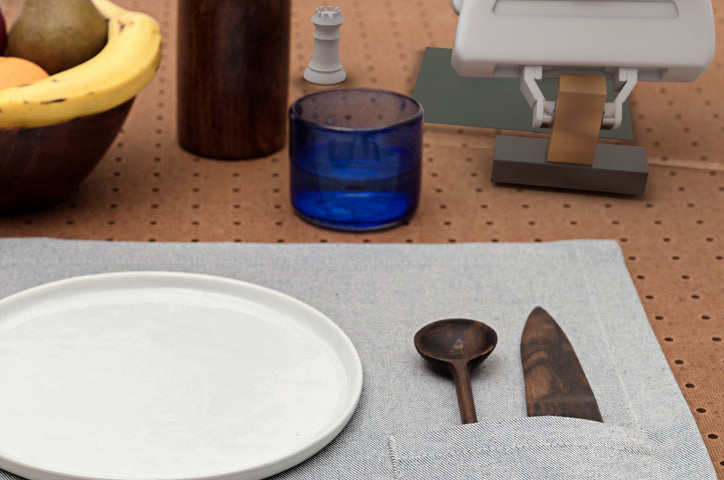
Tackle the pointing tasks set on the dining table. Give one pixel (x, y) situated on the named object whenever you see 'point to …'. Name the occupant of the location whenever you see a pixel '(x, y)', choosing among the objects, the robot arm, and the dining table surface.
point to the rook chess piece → (326, 48)
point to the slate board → (488, 98)
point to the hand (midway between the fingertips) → (576, 126)
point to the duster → (572, 147)
